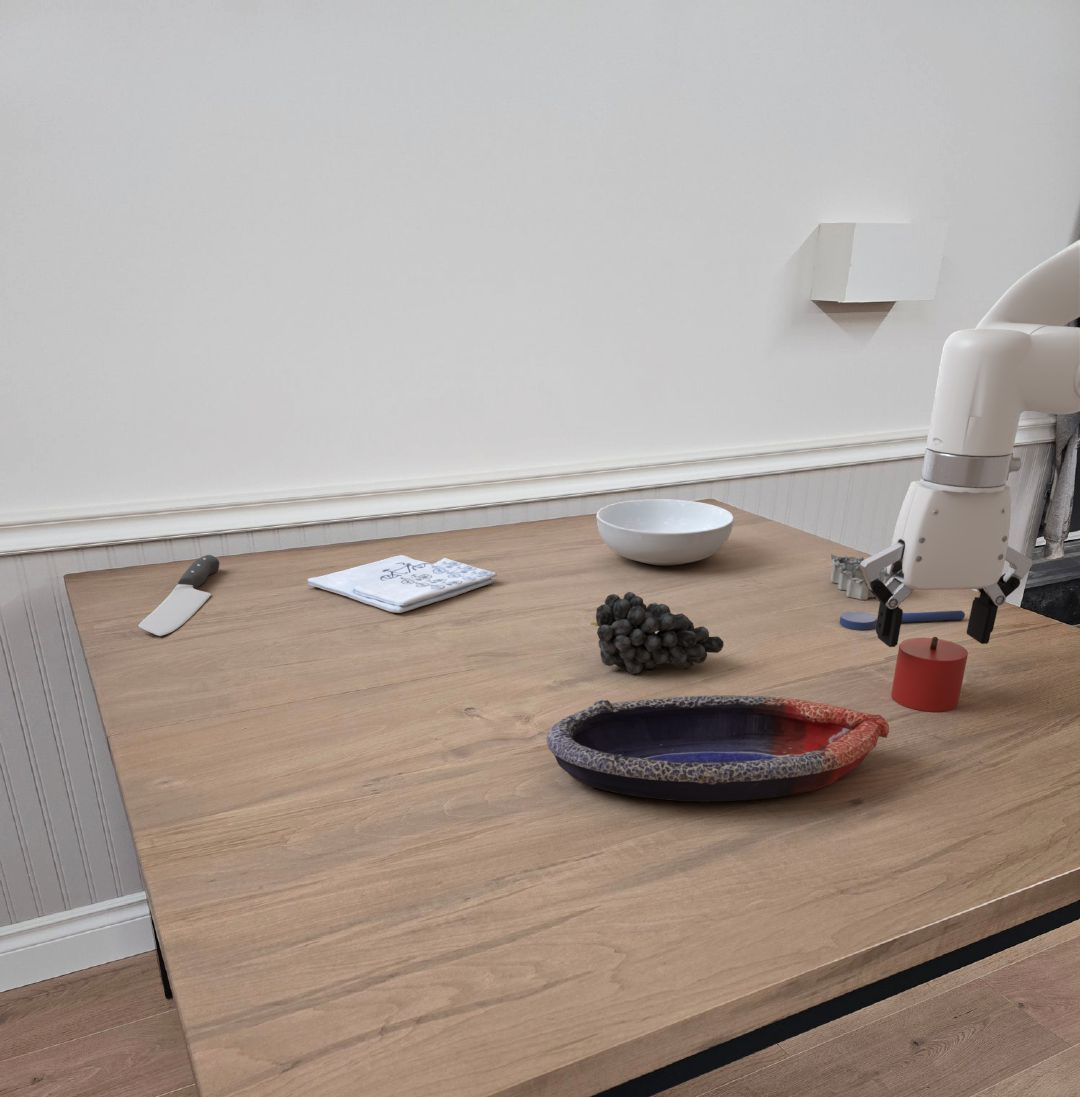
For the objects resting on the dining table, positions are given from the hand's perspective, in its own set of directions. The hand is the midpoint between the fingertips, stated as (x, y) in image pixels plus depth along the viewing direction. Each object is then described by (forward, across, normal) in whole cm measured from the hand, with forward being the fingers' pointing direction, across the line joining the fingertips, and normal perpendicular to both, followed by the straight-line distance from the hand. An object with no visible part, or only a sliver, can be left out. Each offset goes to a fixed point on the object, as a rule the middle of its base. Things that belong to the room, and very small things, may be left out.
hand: (932, 640), depth 98 cm
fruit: (+7, +26, -12) cm, 29 cm away
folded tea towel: (+7, +55, -47) cm, 72 cm away
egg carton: (+6, -10, -37) cm, 39 cm away
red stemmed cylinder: (+6, 0, 0) cm, 7 cm away
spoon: (+6, -8, -23) cm, 25 cm away
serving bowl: (+7, +15, -56) cm, 58 cm away
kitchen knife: (+8, +84, -44) cm, 95 cm away
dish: (+7, +26, +13) cm, 30 cm away
